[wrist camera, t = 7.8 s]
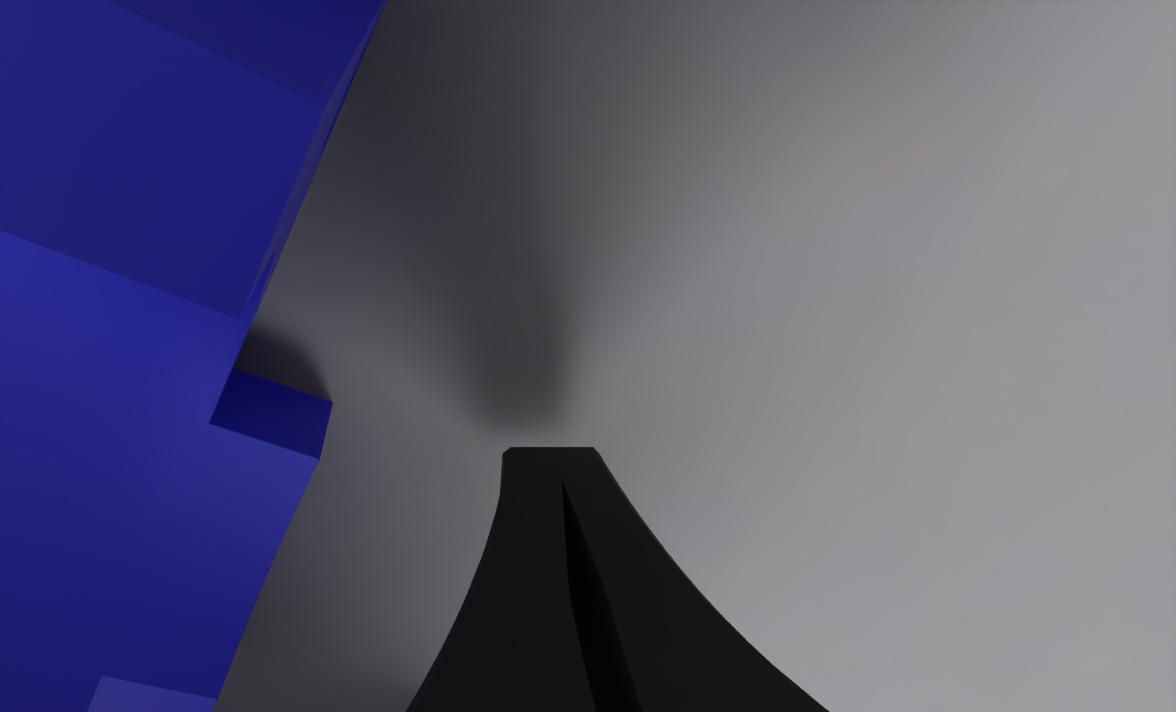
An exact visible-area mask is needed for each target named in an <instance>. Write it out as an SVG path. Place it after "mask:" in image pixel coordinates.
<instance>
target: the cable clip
mask: <svg viewBox="0 0 1176 712" xmlns="http://www.w3.org/2000/svg"><path fill="white" fill-rule="evenodd" d="M385 1H386V0H0V712H211V711H212V709H213V707H214V705H215V703H216V701H217V699H218V696H219V693H220V691H221V688H222V686H223V683H224V680H225V678H226V675H227V673H228V670H229V667H230V665H231V662H232V660H233V657H234V654H235V652H236V649H237V647H238V644H239V642H240V639H241V637H242V634H243V632H244V629H245V627H246V624H247V622H248V619H249V617H250V614H251V612H252V609H253V607H254V604H255V602H256V600H257V597H258V595H259V592H260V590H261V587H262V585H263V583H264V580H265V578H266V576H267V573H268V571H269V568H270V566H271V564H272V561H273V559H274V557H275V554H276V552H277V550H278V548H279V545H280V543H281V541H282V538H283V536H284V534H285V532H286V529H287V527H288V525H289V523H290V521H291V518H292V516H293V514H294V512H295V510H296V507H297V505H298V503H299V501H300V499H301V497H302V495H303V492H304V490H305V488H306V486H307V484H308V482H309V480H310V478H311V476H312V474H313V472H314V469H315V467H316V465H317V463H318V461H319V459H320V455H321V451H322V447H323V442H324V438H325V434H326V429H327V425H328V421H329V417H330V412H331V408H332V404H333V403H332V402H329V401H326V400H323V399H320V398H317V397H314V396H311V395H309V394H306V393H303V392H300V391H297V390H294V389H291V388H289V387H286V386H283V385H280V384H277V383H274V382H271V381H268V380H266V379H263V378H260V377H257V376H254V375H251V374H248V373H246V372H243V371H240V370H237V369H234V368H233V367H234V365H235V363H236V360H237V358H238V355H239V353H240V351H241V348H242V346H243V343H244V341H245V338H246V336H247V334H248V331H249V329H250V326H251V324H252V322H253V319H254V317H255V314H256V312H257V310H258V307H259V305H260V302H261V300H262V298H263V295H264V293H265V290H266V288H267V286H268V283H269V281H270V278H271V276H272V273H273V271H274V269H275V266H276V264H277V261H278V259H279V257H280V254H281V252H282V249H283V247H284V245H285V242H286V240H287V237H288V235H289V233H290V230H291V228H292V225H293V223H294V221H295V218H296V216H297V213H298V211H299V208H300V206H301V204H302V201H303V199H304V196H305V194H306V192H307V189H308V187H309V184H310V182H311V180H312V177H313V175H314V172H315V170H316V168H317V165H318V163H319V160H320V158H321V156H322V153H323V151H324V148H325V146H326V143H327V141H328V139H329V136H330V134H331V131H332V129H333V127H334V124H335V122H336V119H337V117H338V115H339V112H340V110H341V107H342V105H343V103H344V100H345V98H346V95H347V93H348V91H349V88H350V86H351V83H352V81H353V79H354V76H355V74H356V71H357V69H358V66H359V64H360V62H361V59H362V57H363V54H364V52H365V50H366V47H367V45H368V42H369V40H370V38H371V35H372V33H373V30H374V28H375V26H376V23H377V21H378V18H379V16H380V14H381V11H382V9H383V6H384V4H385Z"/></svg>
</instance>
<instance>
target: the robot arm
mask: <svg viewBox="0 0 1176 712" xmlns="http://www.w3.org/2000/svg"><path fill="white" fill-rule="evenodd" d="M406 712H829V711H828V710H827V709H825V708H824V707H823V706H822V705H820V704H819V703H818V702H817V701H816V700H814V699H813V698H812V697H811V696H810V695H808V694H807V693H806V692H805V691H804V690H802V689H801V688H800V687H799V686H798V685H796V684H795V683H794V682H793V681H792V680H790V679H789V678H788V677H787V676H786V675H784V674H783V673H782V672H781V671H780V670H778V669H777V668H776V667H775V666H774V665H772V664H771V663H770V662H769V661H768V660H767V659H766V658H765V657H764V656H763V655H762V654H761V653H760V652H758V651H757V650H756V649H755V648H754V647H753V646H752V645H751V644H750V643H749V642H748V641H747V640H746V639H745V638H744V637H743V636H742V635H741V634H740V633H739V632H738V631H737V630H736V629H735V628H734V627H733V626H732V625H731V624H730V623H729V622H728V621H727V620H726V619H725V618H724V617H723V616H722V615H721V614H720V613H719V612H718V611H717V610H716V609H715V608H714V606H713V605H712V604H711V603H710V602H709V601H708V600H707V599H706V598H705V597H704V595H703V594H702V593H701V592H700V591H699V590H698V589H697V587H696V586H695V585H694V584H693V583H692V582H691V580H690V579H689V578H688V577H687V576H686V575H685V573H684V572H683V571H682V570H681V569H680V567H679V566H678V565H677V564H676V563H675V561H674V560H673V559H672V558H671V556H670V555H669V554H668V553H667V551H666V550H665V549H664V547H663V546H662V545H661V543H660V542H659V541H658V539H657V538H656V537H655V535H654V534H653V533H652V532H651V530H650V529H649V528H648V526H647V525H646V524H645V522H644V521H643V519H642V518H641V517H640V515H639V514H638V512H637V511H636V510H635V508H634V507H633V505H632V504H631V502H630V501H629V499H628V498H627V497H626V495H625V494H624V492H623V491H622V489H621V488H620V486H619V485H618V483H617V481H616V480H615V478H614V477H613V475H612V474H611V472H610V470H609V469H608V467H607V466H606V464H605V462H604V461H603V459H602V457H601V456H600V454H599V453H598V452H597V451H596V450H595V449H594V448H593V447H511V448H509V449H508V450H507V451H505V452H504V453H503V456H502V471H501V487H500V496H499V501H498V505H497V510H496V514H495V517H494V520H493V523H492V527H491V530H490V533H489V537H488V540H487V543H486V546H485V549H484V552H483V555H482V558H481V560H480V563H479V565H478V568H477V570H476V573H475V575H474V578H473V580H472V583H471V586H470V588H469V591H468V593H467V596H466V598H465V600H464V602H463V605H462V607H461V609H460V611H459V614H458V616H457V618H456V620H455V622H454V624H453V626H452V628H451V630H450V632H449V634H448V636H447V638H446V640H445V642H444V644H443V646H442V648H441V650H440V652H439V654H438V656H437V658H436V660H435V661H434V663H433V665H432V667H431V669H430V670H429V672H428V674H427V676H426V678H425V679H424V681H423V683H422V685H421V687H420V688H419V690H418V692H417V694H416V695H415V697H414V699H413V700H412V702H411V704H410V705H409V707H408V709H407V710H406Z"/></svg>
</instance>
